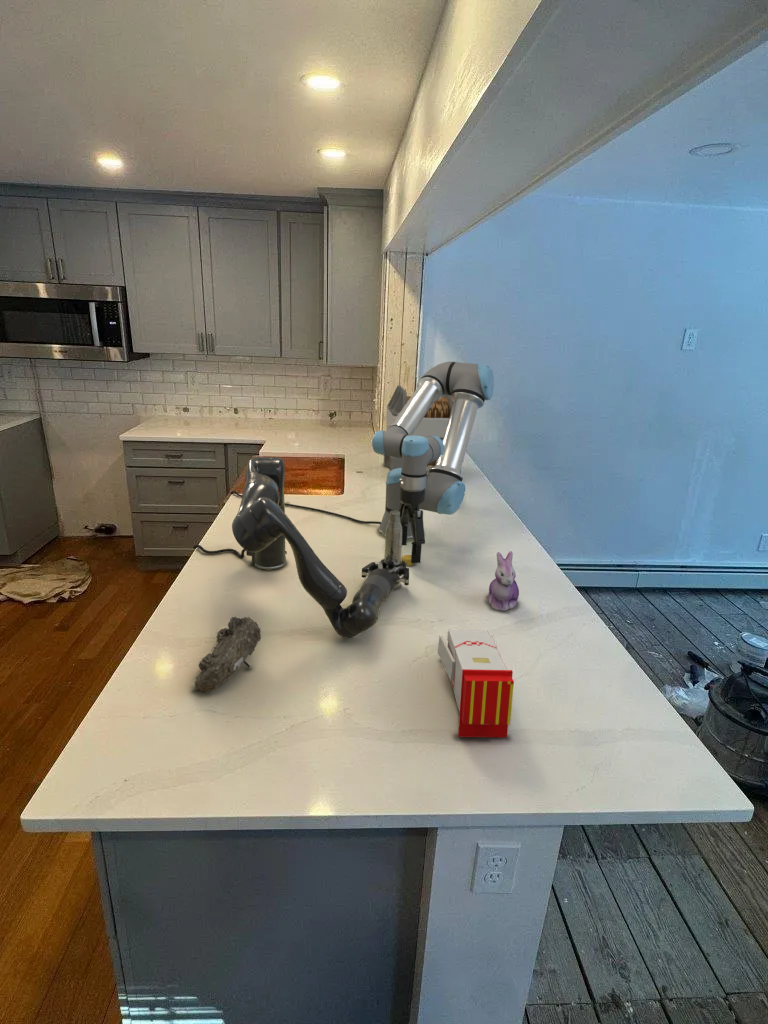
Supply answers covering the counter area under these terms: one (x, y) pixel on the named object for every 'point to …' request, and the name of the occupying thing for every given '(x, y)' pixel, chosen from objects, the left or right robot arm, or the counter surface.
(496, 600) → the figurine
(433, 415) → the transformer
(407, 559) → the cap
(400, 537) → the bottle
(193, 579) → the counter surface
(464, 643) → the toy
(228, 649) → the fossil
